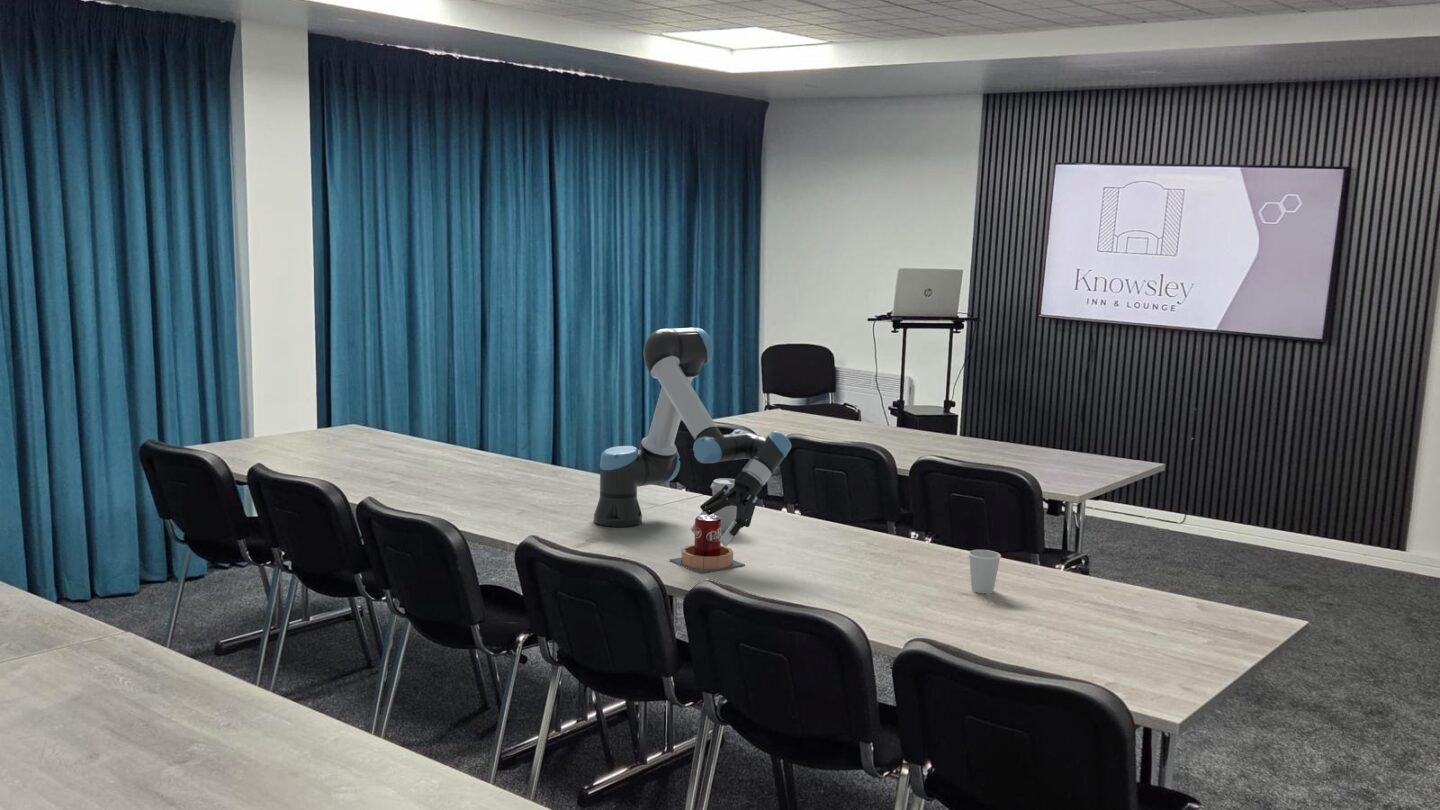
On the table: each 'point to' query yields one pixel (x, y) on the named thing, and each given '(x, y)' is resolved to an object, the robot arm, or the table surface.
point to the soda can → (707, 535)
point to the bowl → (707, 560)
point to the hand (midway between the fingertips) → (707, 537)
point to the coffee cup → (727, 512)
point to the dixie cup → (983, 570)
